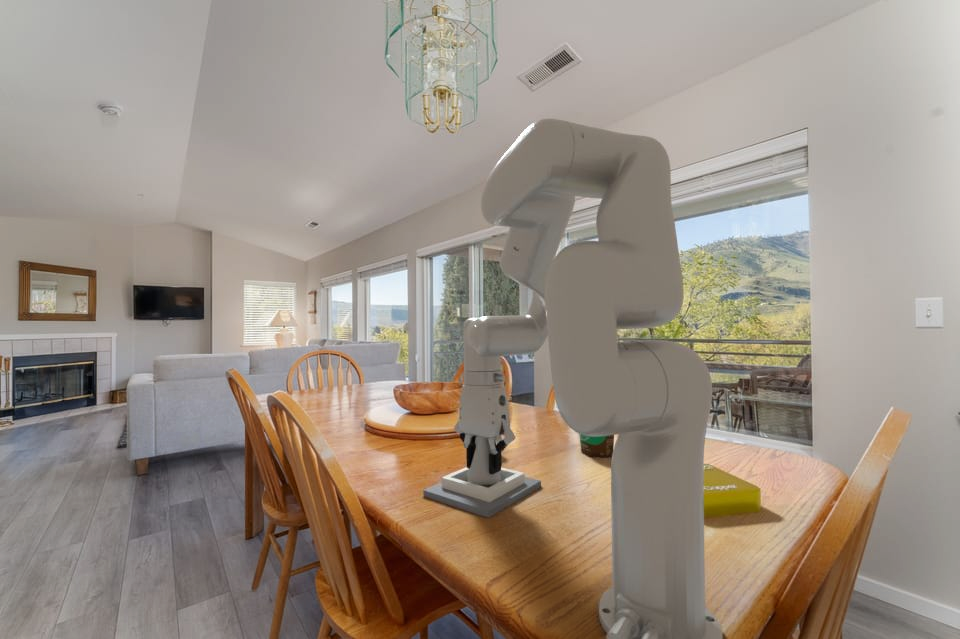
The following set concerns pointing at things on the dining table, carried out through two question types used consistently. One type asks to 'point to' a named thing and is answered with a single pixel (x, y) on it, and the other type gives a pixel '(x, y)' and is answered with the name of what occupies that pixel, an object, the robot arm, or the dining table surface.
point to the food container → (597, 446)
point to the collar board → (482, 491)
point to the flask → (482, 465)
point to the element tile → (728, 494)
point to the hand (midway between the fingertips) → (483, 468)
